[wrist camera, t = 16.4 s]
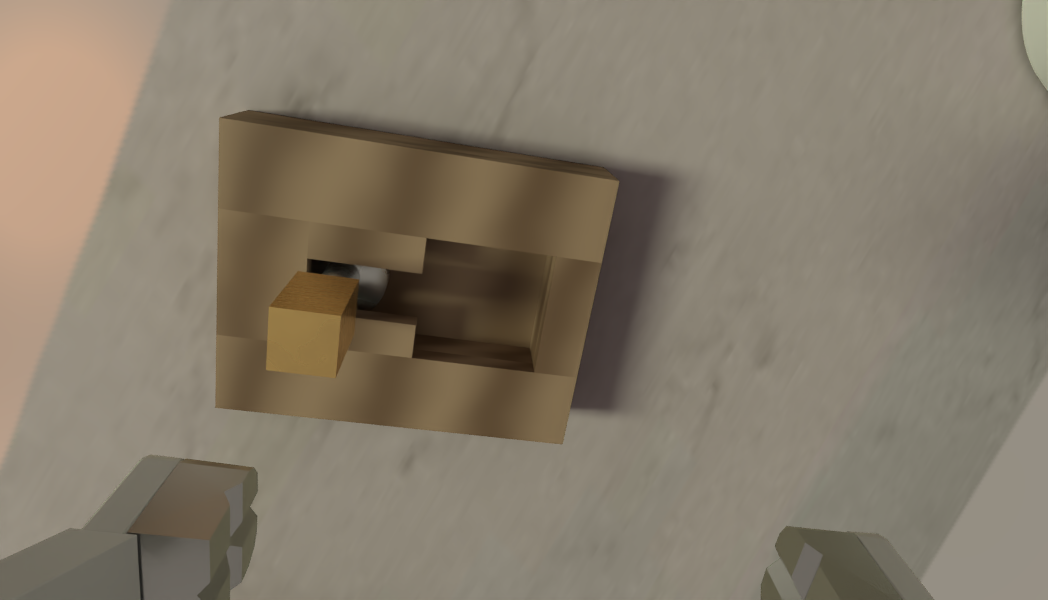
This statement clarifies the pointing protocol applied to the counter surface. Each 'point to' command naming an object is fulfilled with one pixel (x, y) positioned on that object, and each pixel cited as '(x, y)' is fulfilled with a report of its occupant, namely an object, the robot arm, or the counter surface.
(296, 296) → the keyhole peg
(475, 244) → the keyhole plate
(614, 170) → the counter surface
